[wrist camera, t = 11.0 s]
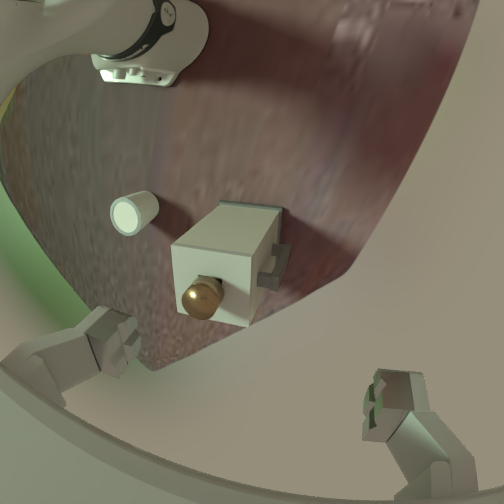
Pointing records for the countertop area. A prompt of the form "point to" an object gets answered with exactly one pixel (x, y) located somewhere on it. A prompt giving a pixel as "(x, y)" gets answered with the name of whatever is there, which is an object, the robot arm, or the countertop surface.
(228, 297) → the block
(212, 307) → the plunger
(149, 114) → the countertop surface
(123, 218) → the shot glass
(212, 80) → the countertop surface
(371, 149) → the countertop surface
